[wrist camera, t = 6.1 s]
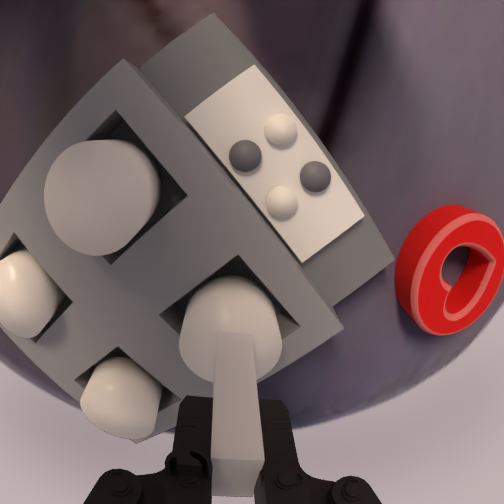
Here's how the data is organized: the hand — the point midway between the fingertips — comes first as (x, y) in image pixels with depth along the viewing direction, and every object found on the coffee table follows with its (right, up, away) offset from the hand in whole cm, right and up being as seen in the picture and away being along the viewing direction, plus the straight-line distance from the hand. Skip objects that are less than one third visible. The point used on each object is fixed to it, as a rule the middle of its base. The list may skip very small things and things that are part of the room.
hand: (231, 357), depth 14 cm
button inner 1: (-13, +3, +3) cm, 14 cm away
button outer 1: (-7, -4, +5) cm, 10 cm away
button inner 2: (-6, +8, 0) cm, 10 cm away
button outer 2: (0, +1, +3) cm, 3 cm away
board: (-4, +5, +6) cm, 9 cm away
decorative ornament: (+16, +4, +8) cm, 18 cm away
